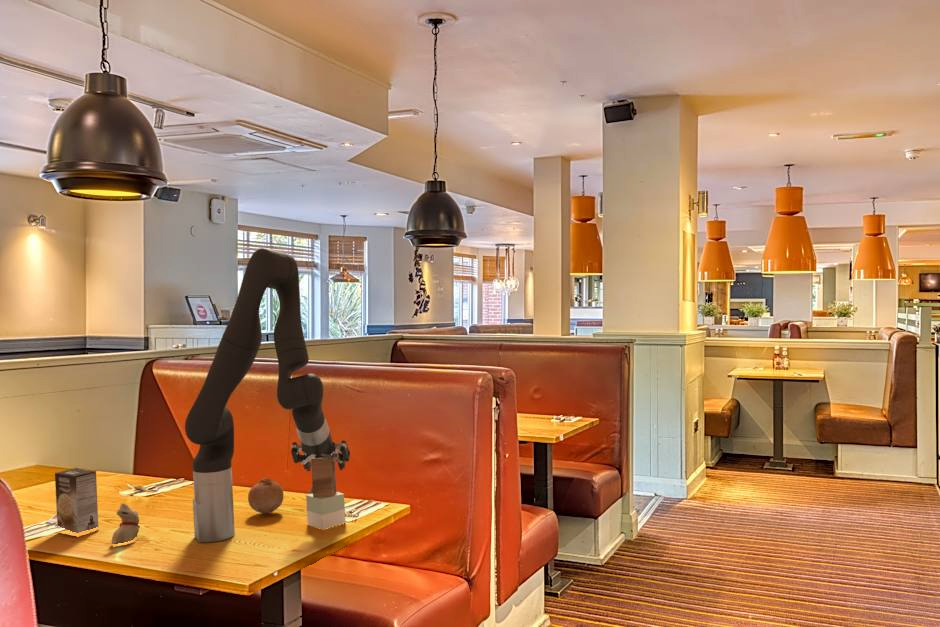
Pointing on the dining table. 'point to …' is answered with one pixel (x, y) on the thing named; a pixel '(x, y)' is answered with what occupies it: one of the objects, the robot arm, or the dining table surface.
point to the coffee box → (76, 499)
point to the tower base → (326, 519)
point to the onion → (265, 496)
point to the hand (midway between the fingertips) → (325, 467)
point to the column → (323, 477)
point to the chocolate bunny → (126, 525)
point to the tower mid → (325, 503)
